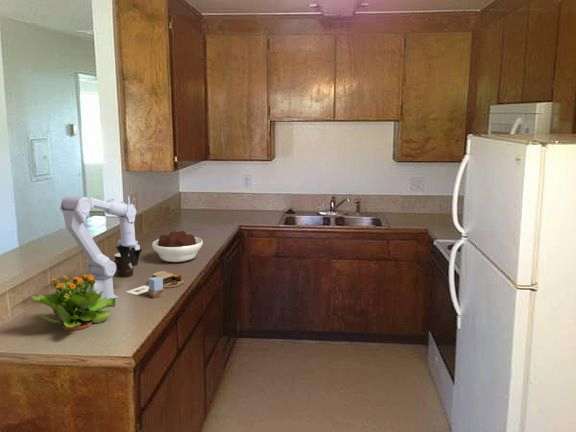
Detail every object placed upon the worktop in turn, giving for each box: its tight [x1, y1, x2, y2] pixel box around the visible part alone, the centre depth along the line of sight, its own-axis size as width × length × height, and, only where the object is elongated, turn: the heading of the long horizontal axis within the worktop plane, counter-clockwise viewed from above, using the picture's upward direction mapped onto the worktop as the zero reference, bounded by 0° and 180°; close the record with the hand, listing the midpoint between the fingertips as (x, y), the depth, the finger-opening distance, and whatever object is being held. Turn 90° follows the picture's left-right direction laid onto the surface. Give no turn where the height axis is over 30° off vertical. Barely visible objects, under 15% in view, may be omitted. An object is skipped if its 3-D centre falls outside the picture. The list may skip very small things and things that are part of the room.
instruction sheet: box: [125, 285, 149, 296], centre depth 221 cm, size 10×7×1 cm
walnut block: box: [147, 288, 166, 299], centre depth 214 cm, size 5×5×3 cm
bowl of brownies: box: [151, 230, 204, 263], centre depth 266 cm, size 25×25×15 cm
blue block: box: [148, 277, 164, 291], centre depth 213 cm, size 4×4×4 cm
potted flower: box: [31, 274, 116, 331], centre depth 181 cm, size 25×24×18 cm
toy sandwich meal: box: [151, 270, 184, 289], centre depth 229 cm, size 12×14×5 cm
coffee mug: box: [113, 252, 134, 279], centre depth 240 cm, size 12×9×10 cm
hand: (130, 263), depth 222 cm, fingers open, 7 cm apart
